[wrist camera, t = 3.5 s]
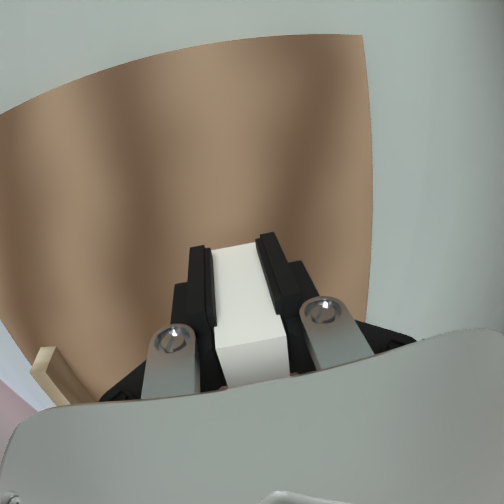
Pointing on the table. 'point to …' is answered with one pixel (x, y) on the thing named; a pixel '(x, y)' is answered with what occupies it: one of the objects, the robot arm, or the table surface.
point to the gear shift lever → (246, 320)
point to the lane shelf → (177, 192)
